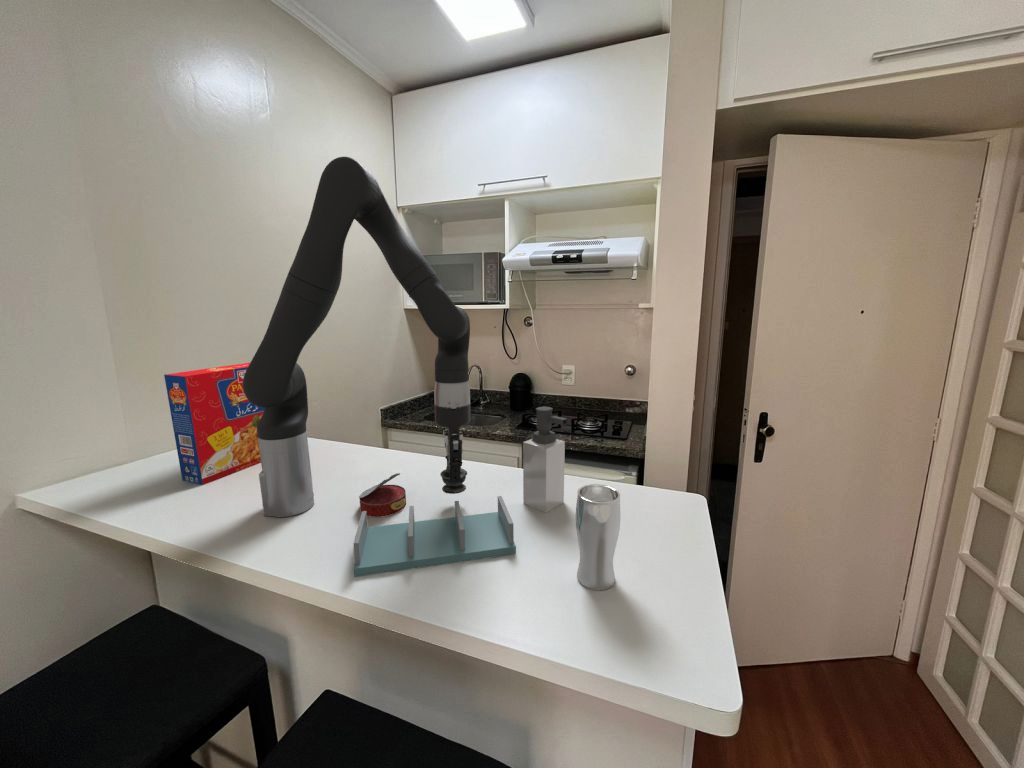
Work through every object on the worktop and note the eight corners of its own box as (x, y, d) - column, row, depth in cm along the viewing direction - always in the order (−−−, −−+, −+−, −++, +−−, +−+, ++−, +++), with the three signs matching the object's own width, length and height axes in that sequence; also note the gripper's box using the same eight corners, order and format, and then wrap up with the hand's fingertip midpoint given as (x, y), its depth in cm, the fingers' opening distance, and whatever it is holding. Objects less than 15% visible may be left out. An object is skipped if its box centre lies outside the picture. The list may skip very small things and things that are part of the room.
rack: (353, 576, 68) (351, 546, 67) (363, 534, 80) (361, 508, 79) (515, 553, 74) (515, 525, 73) (501, 517, 86) (501, 493, 85)
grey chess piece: (469, 483, 93) (469, 432, 91) (464, 495, 88) (463, 441, 85) (444, 482, 94) (443, 431, 92) (437, 493, 88) (436, 440, 86)
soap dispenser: (554, 516, 87) (555, 416, 83) (523, 503, 93) (523, 408, 89) (572, 505, 91) (574, 409, 87) (541, 493, 97) (542, 403, 93)
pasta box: (202, 485, 104) (185, 376, 98) (182, 480, 106) (164, 374, 101) (296, 449, 129) (286, 361, 124) (277, 446, 132) (267, 360, 127)
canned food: (376, 537, 88) (349, 507, 83) (368, 512, 96) (344, 483, 92) (421, 505, 91) (398, 474, 86) (410, 483, 99) (388, 454, 95)
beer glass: (570, 566, 70) (571, 484, 67) (609, 563, 71) (613, 482, 68) (580, 594, 64) (582, 504, 61) (623, 591, 64) (628, 502, 61)
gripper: (433, 395, 93) (435, 465, 96) (435, 410, 79) (438, 491, 83) (466, 393, 95) (467, 462, 98) (474, 409, 81) (475, 488, 84)
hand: (453, 475), depth 90 cm, fingers closed on grey chess piece, 6 cm apart
